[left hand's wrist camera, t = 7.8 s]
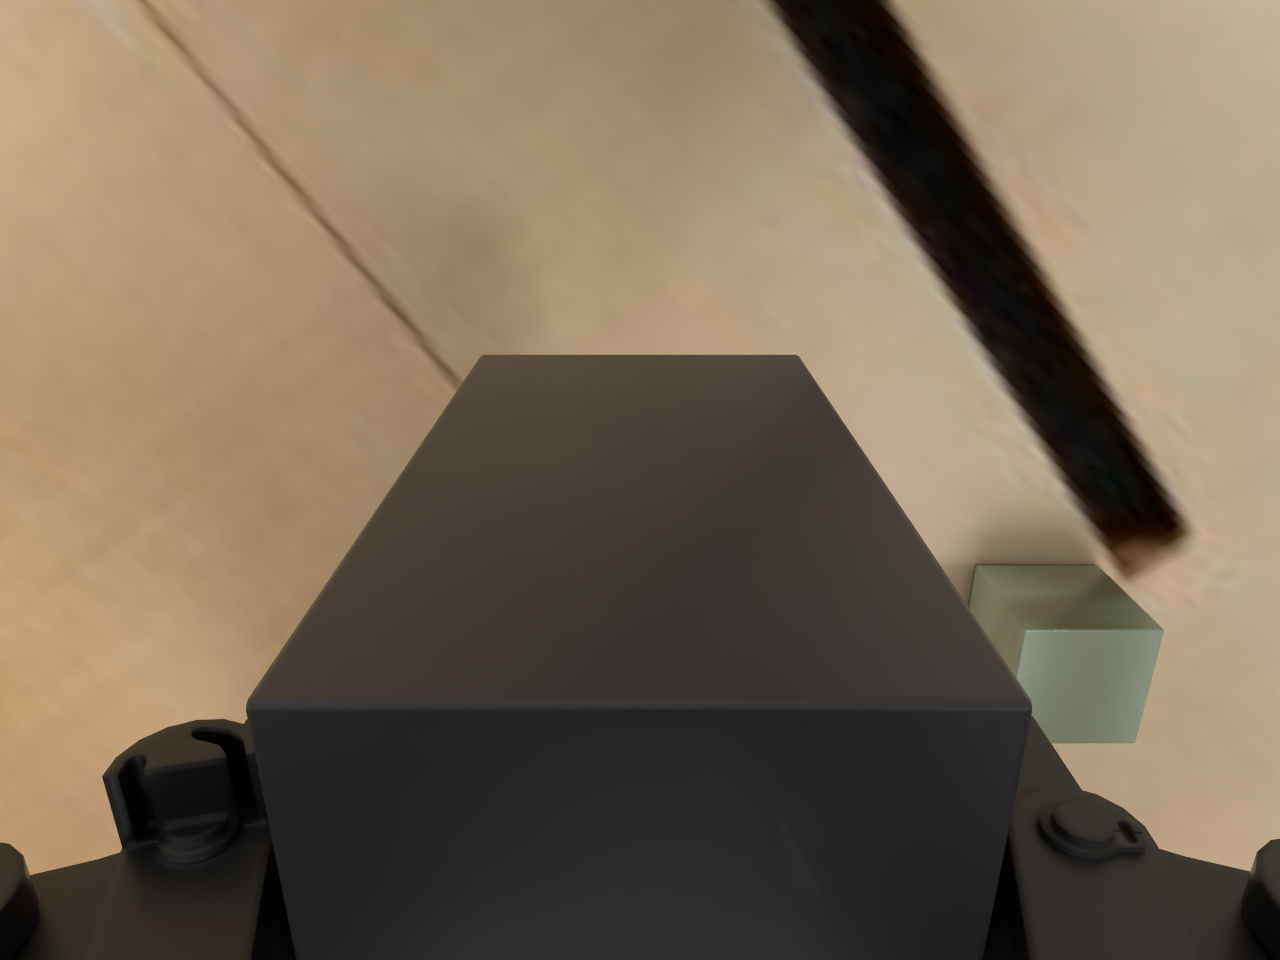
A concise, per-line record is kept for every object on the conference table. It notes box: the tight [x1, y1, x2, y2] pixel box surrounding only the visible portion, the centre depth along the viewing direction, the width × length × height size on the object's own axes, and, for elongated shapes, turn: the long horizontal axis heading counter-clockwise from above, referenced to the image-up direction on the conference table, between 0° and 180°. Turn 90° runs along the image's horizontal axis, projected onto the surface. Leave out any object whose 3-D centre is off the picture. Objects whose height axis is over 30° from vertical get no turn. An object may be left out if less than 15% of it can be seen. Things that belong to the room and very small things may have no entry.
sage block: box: [969, 565, 1163, 743], centre depth 28 cm, size 4×4×4 cm
